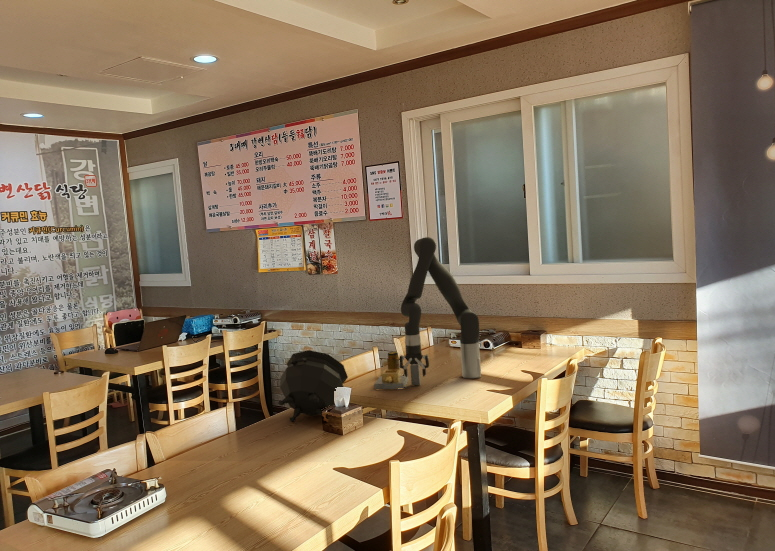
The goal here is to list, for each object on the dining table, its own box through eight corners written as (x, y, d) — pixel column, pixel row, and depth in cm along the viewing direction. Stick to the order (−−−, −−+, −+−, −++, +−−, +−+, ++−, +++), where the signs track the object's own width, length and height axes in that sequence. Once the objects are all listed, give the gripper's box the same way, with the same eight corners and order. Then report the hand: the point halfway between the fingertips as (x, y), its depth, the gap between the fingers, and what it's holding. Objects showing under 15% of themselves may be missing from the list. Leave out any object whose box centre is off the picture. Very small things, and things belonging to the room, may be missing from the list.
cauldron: (259, 413, 241) (275, 366, 259) (319, 439, 249) (330, 392, 267) (288, 383, 224) (302, 335, 241) (351, 411, 232) (360, 363, 250)
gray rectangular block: (420, 384, 285) (419, 364, 285) (419, 385, 282) (418, 365, 282) (412, 384, 286) (411, 364, 285) (411, 386, 283) (410, 365, 282)
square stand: (408, 381, 292) (407, 367, 292) (403, 389, 279) (402, 374, 278) (381, 381, 295) (380, 368, 294) (375, 389, 281) (373, 375, 281)
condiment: (395, 372, 311) (393, 350, 310) (405, 375, 305) (404, 352, 304) (384, 375, 307) (382, 353, 306) (395, 378, 300) (393, 355, 299)
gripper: (428, 341, 285) (430, 374, 286) (399, 342, 288) (402, 374, 289) (426, 344, 278) (428, 378, 279) (397, 345, 281) (399, 378, 282)
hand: (415, 376), depth 284 cm, fingers open, 8 cm apart
